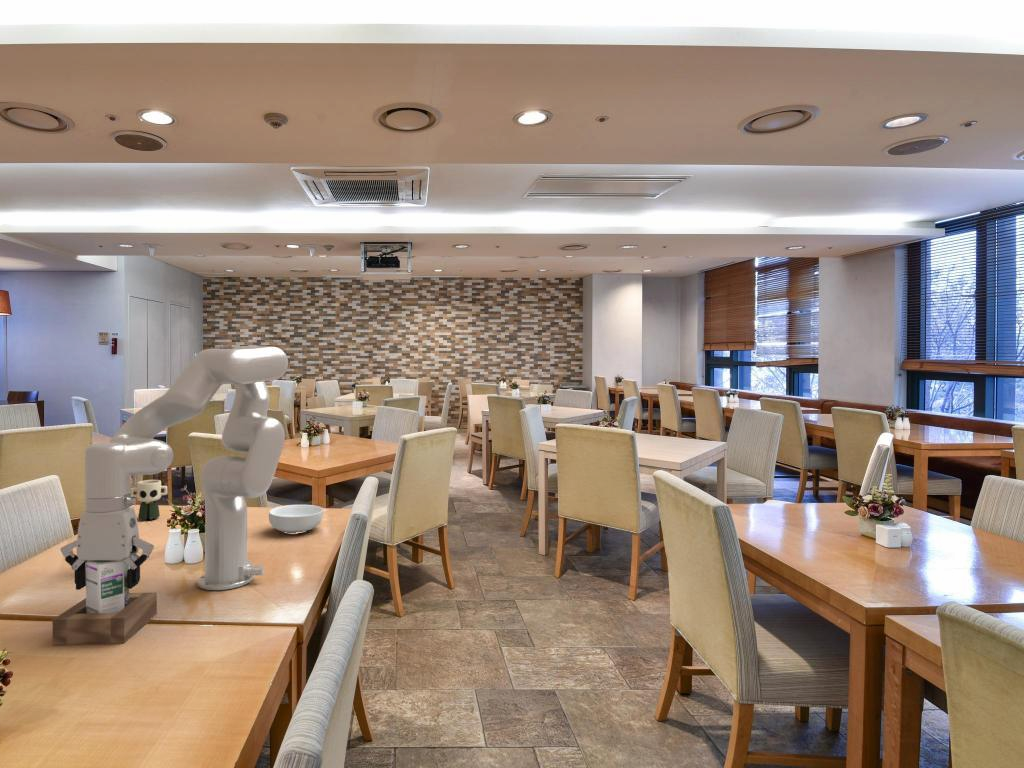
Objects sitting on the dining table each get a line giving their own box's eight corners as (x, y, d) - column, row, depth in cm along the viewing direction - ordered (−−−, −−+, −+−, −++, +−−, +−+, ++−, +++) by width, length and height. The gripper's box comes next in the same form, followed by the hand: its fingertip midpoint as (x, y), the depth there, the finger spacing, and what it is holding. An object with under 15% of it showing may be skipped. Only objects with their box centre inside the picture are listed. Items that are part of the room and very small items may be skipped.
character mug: (129, 523, 199) (129, 484, 199) (131, 518, 205) (131, 480, 205) (166, 520, 204) (166, 482, 203) (168, 515, 210) (168, 478, 210)
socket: (156, 615, 129) (156, 592, 129) (124, 643, 116) (124, 617, 116) (92, 616, 128) (92, 593, 127) (52, 645, 115) (52, 619, 114)
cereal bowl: (312, 539, 186) (312, 517, 186) (259, 538, 186) (259, 515, 186) (329, 524, 203) (330, 504, 203) (281, 523, 203) (281, 503, 203)
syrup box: (98, 638, 118) (98, 565, 117) (85, 630, 121) (85, 560, 121) (129, 627, 123) (130, 558, 122) (115, 620, 126) (115, 552, 125)
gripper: (161, 499, 126) (161, 579, 126) (73, 499, 124) (73, 580, 124) (143, 508, 118) (143, 593, 119) (49, 508, 116) (49, 594, 117)
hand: (107, 586), depth 122 cm, fingers open, 9 cm apart
